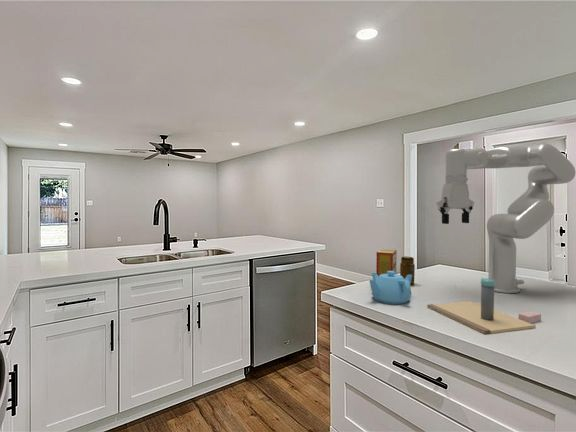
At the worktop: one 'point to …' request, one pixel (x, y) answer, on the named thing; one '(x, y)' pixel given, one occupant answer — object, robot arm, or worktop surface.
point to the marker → (487, 299)
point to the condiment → (408, 268)
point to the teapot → (391, 288)
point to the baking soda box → (385, 261)
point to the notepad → (479, 317)
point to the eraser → (530, 317)
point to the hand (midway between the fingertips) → (455, 223)
